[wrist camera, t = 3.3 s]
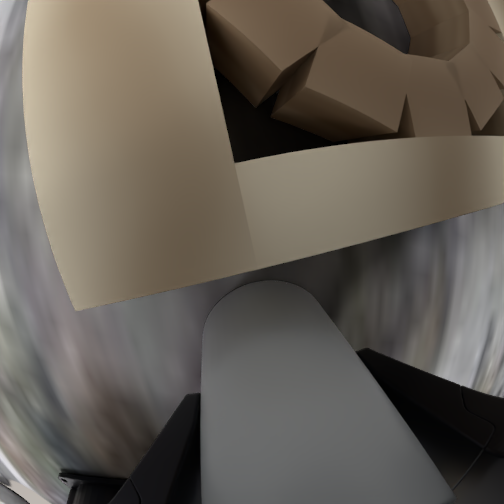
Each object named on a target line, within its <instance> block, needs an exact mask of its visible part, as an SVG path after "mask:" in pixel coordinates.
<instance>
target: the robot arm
mask: <svg viewBox="0 0 504 504" xmlns="http://www.w3.org/2000/svg"><path fill="white" fill-rule="evenodd" d="M356 354H357V355H358V356H359V358H360V359H361V361H362V362H363V363H364V365H365V366H366V367H367V369H368V370H369V372H370V373H371V374H372V376H373V377H374V378H375V380H376V381H377V383H378V384H379V385H380V387H381V388H382V390H383V391H384V392H385V394H386V395H387V397H388V398H389V399H390V401H391V402H392V404H393V405H394V406H395V408H396V409H397V411H398V412H399V413H400V415H401V416H402V418H403V419H404V421H405V422H406V423H407V425H408V426H409V428H410V429H411V431H412V432H413V433H414V435H415V436H416V438H417V439H418V441H419V442H420V444H421V445H422V447H423V448H424V449H425V451H426V452H427V454H428V455H429V457H430V458H431V460H432V461H433V463H434V464H435V466H436V467H437V469H438V470H439V472H440V473H441V475H442V476H443V478H444V479H445V481H446V482H447V484H448V485H449V487H450V488H451V490H452V491H453V493H454V494H455V496H456V497H457V499H456V501H455V502H454V503H453V504H504V398H500V397H496V396H493V395H489V394H485V393H482V392H479V391H476V390H473V389H470V388H467V387H465V386H461V387H460V385H459V384H456V383H454V382H451V381H448V380H446V379H443V378H441V377H438V376H435V375H433V374H430V373H428V372H425V371H423V370H420V369H418V368H415V367H413V366H410V365H408V364H405V363H403V362H400V361H398V360H395V359H393V358H390V357H388V356H386V355H383V354H381V353H378V352H376V351H374V350H371V349H369V348H364V349H361V350H359V351H356ZM200 418H201V394H200V393H193V394H188V395H186V396H185V397H184V399H183V400H182V402H181V403H180V405H179V406H178V408H177V409H176V411H175V412H174V413H173V415H172V416H171V418H170V419H169V421H168V422H167V424H166V425H165V427H164V428H163V430H162V431H161V432H160V434H159V435H158V437H157V438H156V440H155V441H154V443H153V444H152V445H151V447H150V448H149V450H148V451H147V453H146V454H145V455H144V457H143V458H142V460H141V461H140V463H139V464H138V465H137V467H136V468H135V470H134V471H133V472H132V474H131V475H130V478H128V479H127V480H118V479H105V478H95V477H86V476H79V475H72V474H66V473H59V476H58V478H59V479H60V480H61V481H62V482H63V483H64V484H65V485H67V486H68V487H69V488H70V489H71V490H70V493H69V497H68V501H67V504H202V497H201V449H200Z"/></svg>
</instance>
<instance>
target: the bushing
mask: <svg viewBox="0 0 504 504" xmlns="http://www.w3.org/2000/svg"><path fill="white" fill-rule="evenodd" d="M200 449H201V497H202V504H453V503H454V502H455V501H456V499H457V497H456V496H455V494H454V493H453V491H452V490H451V488H450V487H449V485H448V484H447V482H446V481H445V479H444V478H443V476H442V475H441V473H440V472H439V470H438V469H437V467H436V466H435V464H434V463H433V461H432V460H431V458H430V457H429V455H428V454H427V452H426V451H425V449H424V448H423V447H422V445H421V444H420V442H419V441H418V439H417V438H416V436H415V435H414V433H413V432H412V431H411V429H410V428H409V426H408V425H407V423H406V422H405V421H404V419H403V418H402V416H401V415H400V413H399V412H398V411H397V409H396V408H395V406H394V405H393V404H392V402H391V401H390V399H389V398H388V397H387V395H386V394H385V392H384V391H383V390H382V388H381V387H380V385H379V384H378V383H377V381H376V380H375V378H374V377H373V376H372V374H371V373H370V372H369V370H368V369H367V367H366V366H365V365H364V363H363V362H362V361H361V359H360V358H359V356H358V355H357V354H356V352H355V351H354V350H353V348H352V347H351V346H350V344H349V343H348V341H347V340H346V339H345V337H344V336H343V335H342V333H341V332H340V331H339V329H338V328H337V327H336V325H335V324H334V323H333V321H332V320H331V319H330V317H329V316H328V315H327V313H326V312H325V311H324V309H323V308H322V307H321V305H320V304H319V303H318V301H317V300H316V299H315V298H314V297H313V296H312V295H311V294H310V293H309V292H308V291H306V290H305V289H303V288H301V287H299V286H297V285H295V284H292V283H289V282H283V281H274V280H268V281H259V282H253V283H250V284H247V285H244V286H242V287H239V288H237V289H235V290H233V291H232V292H230V293H228V294H227V295H226V296H225V297H223V298H222V299H221V300H220V301H219V302H218V303H217V304H216V305H215V306H214V308H213V309H212V310H211V312H210V314H209V315H208V317H207V319H206V322H205V325H204V329H203V339H202V367H201V418H200Z"/></svg>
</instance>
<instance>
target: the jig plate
mask: <svg viewBox="0 0 504 504" xmlns="http://www.w3.org/2000/svg"><path fill="white" fill-rule="evenodd" d="M393 1H394V2H395V4H396V5H397V6H398V7H399V10H400V12H401V14H402V17H403V19H404V22H405V24H406V27H407V29H408V32H409V35H410V37H411V39H410V46H409V52H408V54H404V53H402V52H400V51H399V50H397V49H396V48H394V47H393V46H391V45H389V44H388V43H386V42H384V41H383V40H381V39H379V38H378V37H376V36H374V35H372V34H371V33H369V32H367V31H365V30H363V29H361V28H360V27H358V26H356V25H354V24H352V23H350V22H348V21H346V20H344V19H342V18H340V17H339V16H338V15H337V14H336V13H335V12H334V11H333V10H332V9H331V8H330V7H329V6H328V5H327V4H326V3H325V2H324V1H323V0H28V6H27V13H26V21H25V30H24V42H23V67H22V80H23V106H24V119H25V129H26V138H27V145H28V152H29V159H30V164H31V170H32V175H33V180H34V185H35V190H36V194H37V199H38V203H39V207H40V211H41V215H42V218H43V222H44V226H45V229H46V233H47V236H48V239H49V242H50V246H51V249H52V252H53V255H54V258H55V261H56V263H57V266H58V269H59V272H60V274H61V277H62V280H63V282H64V285H65V287H66V290H67V292H68V295H69V297H70V300H71V302H72V304H73V307H74V309H75V311H79V310H84V309H88V308H93V307H98V306H102V305H107V304H112V303H116V302H121V301H125V300H130V299H134V298H139V297H143V296H148V295H152V294H156V293H161V292H165V291H169V290H174V289H178V288H182V287H187V286H191V285H195V284H200V283H204V282H208V281H212V280H216V279H221V278H225V277H229V276H233V275H237V274H241V273H245V272H250V271H254V270H258V269H262V268H266V267H270V266H274V265H278V264H282V263H286V262H290V261H294V260H298V259H302V258H306V257H310V256H314V255H317V254H321V253H325V252H329V251H333V250H337V249H341V248H345V247H348V246H352V245H356V244H360V243H363V242H367V241H371V240H375V239H378V238H382V237H386V236H390V235H393V234H397V233H401V232H404V231H408V230H412V229H415V228H419V227H423V226H426V225H430V224H433V223H437V222H440V221H444V220H447V219H451V218H455V217H458V216H462V215H465V214H468V213H472V212H475V211H479V210H482V209H486V208H489V207H492V206H496V205H499V204H503V203H504V0H393ZM213 66H214V67H215V68H216V69H217V70H218V71H219V72H220V73H221V74H223V75H224V76H225V77H226V78H227V79H228V80H229V81H230V82H231V83H232V84H233V85H234V86H235V87H236V88H237V89H238V90H239V91H240V92H241V93H242V94H243V95H244V96H245V97H246V98H247V99H248V100H249V102H250V103H251V104H252V105H253V106H254V107H255V108H256V107H258V106H259V105H260V104H261V103H263V102H264V101H265V100H266V99H268V98H269V97H270V96H272V95H273V94H274V93H275V92H277V91H278V90H279V89H280V90H279V93H278V96H277V99H276V102H275V105H274V108H273V110H272V113H271V116H270V117H271V118H274V119H276V120H279V121H282V122H285V123H287V124H290V125H293V126H295V127H298V128H300V129H303V130H306V131H308V132H311V133H313V134H315V135H318V136H320V137H323V138H325V139H327V140H330V141H332V142H338V141H343V140H348V144H343V145H336V146H328V147H321V148H315V149H308V150H302V151H296V152H290V153H285V154H279V155H274V156H268V157H263V158H258V159H253V160H248V161H244V162H239V163H234V159H233V154H232V150H231V145H230V141H229V136H228V132H227V127H226V123H225V118H224V114H223V109H222V105H221V100H220V96H219V91H218V87H217V82H216V78H215V73H214V69H213Z"/></svg>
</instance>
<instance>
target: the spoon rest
mask: <svg viewBox="0 0 504 504" xmlns="http://www.w3.org/2000/svg"><path fill="white" fill-rule="evenodd" d="M0 504H30V503H29V502H27V500H25V499H24V498H23V497H21V496H20V495H19V494H17V493H16V492H14V491H13V490H11V489H10V488H8V487H7V486H5V485H3V484H2V483H0Z"/></svg>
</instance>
